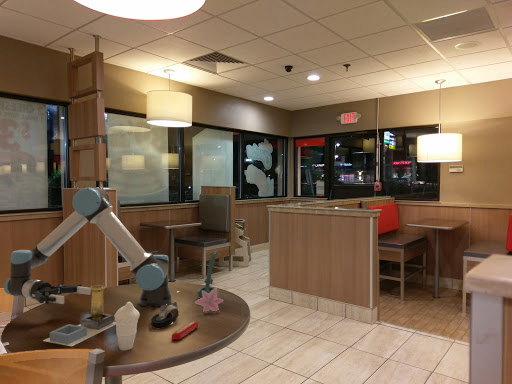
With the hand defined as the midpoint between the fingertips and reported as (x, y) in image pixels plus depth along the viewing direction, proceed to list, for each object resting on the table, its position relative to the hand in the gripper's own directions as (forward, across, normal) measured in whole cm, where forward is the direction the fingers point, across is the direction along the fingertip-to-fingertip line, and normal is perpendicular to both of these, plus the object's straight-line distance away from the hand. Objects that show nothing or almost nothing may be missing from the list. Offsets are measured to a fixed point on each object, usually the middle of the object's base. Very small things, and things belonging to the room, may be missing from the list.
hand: (77, 295), depth 146 cm
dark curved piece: (+34, -49, -11) cm, 61 cm away
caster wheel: (+33, -13, -11) cm, 37 cm away
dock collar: (+10, +14, -10) cm, 20 cm away
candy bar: (+46, -7, -11) cm, 47 cm away
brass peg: (+10, 0, -10) cm, 14 cm away
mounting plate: (+10, +7, -11) cm, 17 cm away
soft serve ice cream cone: (+33, +11, -11) cm, 37 cm away
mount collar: (+10, 0, -10) cm, 14 cm away
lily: (+43, -33, -11) cm, 55 cm away
